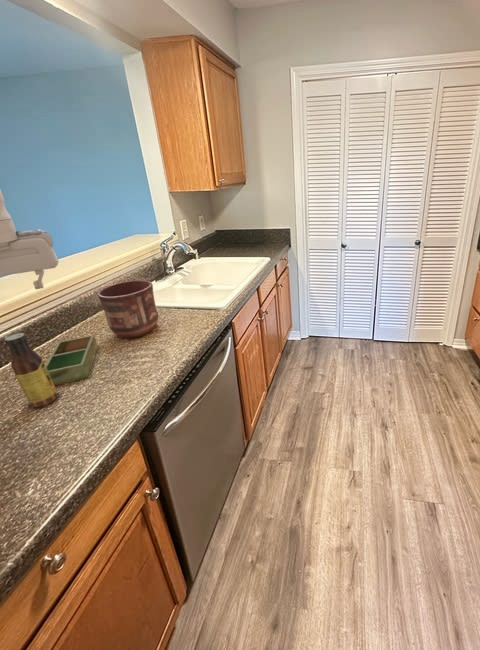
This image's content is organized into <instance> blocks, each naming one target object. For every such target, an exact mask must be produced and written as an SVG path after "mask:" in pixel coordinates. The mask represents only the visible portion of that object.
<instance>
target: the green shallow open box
mask: <svg viewBox="0 0 480 650" xmlns="http://www.w3.org/2000/svg"><path fill="white" fill-rule="evenodd" d="M98 347H99V345H98V342H97V340H96V336H95V334H91V335H86V336H81V337H76V338H71V339H67V340H66V339H65V340H62V341H58V342H57V344H56V346H55V347H54V348H53V350H52V352H51V354H50V356H49V358H48V359H47V360H46V362H45V366H46V368H47V370H48V373H49V375H50V377H51V380H52V382H53V384H54V386H55V387H56V386H59V385H64V384H69V383H71V382H72V383H73V382H77V381H81V380H85V379H88V378H89V376H90V373H91V370H92V367H93V363H94V361H95V358H96V354H97V351H98Z"/></svg>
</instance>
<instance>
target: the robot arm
mask: <svg viewBox="0 0 480 650" xmlns="http://www.w3.org/2000/svg"><path fill="white" fill-rule="evenodd" d="M53 241H54V240H53V238H52V236H51V235H50V233H48V232H47V231H45V230H41V229H33V230H20V231H17V228H16V226H15V223H14V221H13V218H12V216H11V214H10V213H9V212H8V210H7V208H6V205H5V198H4V195H3V192H2V189H1V188H0V277H3V276H4V277H5V276H11V275H17V274H23V273H30V272H34V273H35V275H36V276H38V277H37V280H33V282H32V284H33V286H34V289H35V290H41V289H44V287H45V286H44V283H43V281H42V280H43V277H44V274H45V270H50V269H55V268H56V267H57V266H58V265H59V258H58V256H57V254H56V251H55V250H54V248H53V245H54V242H53Z"/></svg>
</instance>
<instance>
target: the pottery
mask: <svg viewBox="0 0 480 650" xmlns="http://www.w3.org/2000/svg"><path fill="white" fill-rule="evenodd" d="M97 296H98V299H99V301H100V305H101V306H102V309H103V312H104V314H105V317H106V321H107V324H108V327H109V329H110V331H111V332H112V333H113V334H114V335H115V336H117V337H119V338H121V339H124V340H135V339H139V338H142V337H145V336H148V335H149V334H150V333H151V332H153V331H154V329H155V328H156V327H157V325H158V322H159V317H160V316H159V311H158V308H157V305H156V299H155V295H154V285H153V283H152V281H149V280H145V279H135V280H127V281H121V282H117V283H113V284H111V285H108V286H106V287H104V288H102V289H100V290H99V291H98V293H97Z"/></svg>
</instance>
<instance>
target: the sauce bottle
mask: <svg viewBox="0 0 480 650" xmlns="http://www.w3.org/2000/svg"><path fill="white" fill-rule="evenodd" d="M27 339H28V338H27V336H26V334H25V333H24V332H18V333H14V334H11V335H8V336H6V337H5V338H4V343H5V344H6V346H7V347H8V348H9V351H10V354H11V355H12V357H11V361H10V366H11V369H12V371H13V372H14V376H15V378H16V379H17V382H18V384H19V385H20V387H21V390H22V392H23V393H24V396H25V397H26V399H27V402H28V403H29V404H30V406H31V407H32V408H42V407H44V406H47V405H49V404H51V403H53V402H54V401H55V400H56V399H57V398H58V393H57V389H56V385H55V386H54V384H53V382H52V380H51V377H50V375H49V373H48V370H47V368H46V366H45V365H46V363H45V362H44V359H43V357H42V356H40V355H39V354H38V353H37V352H36V351H35V350H33V348H32V347H31V346H30V344H29V342H28V340H27Z"/></svg>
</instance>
